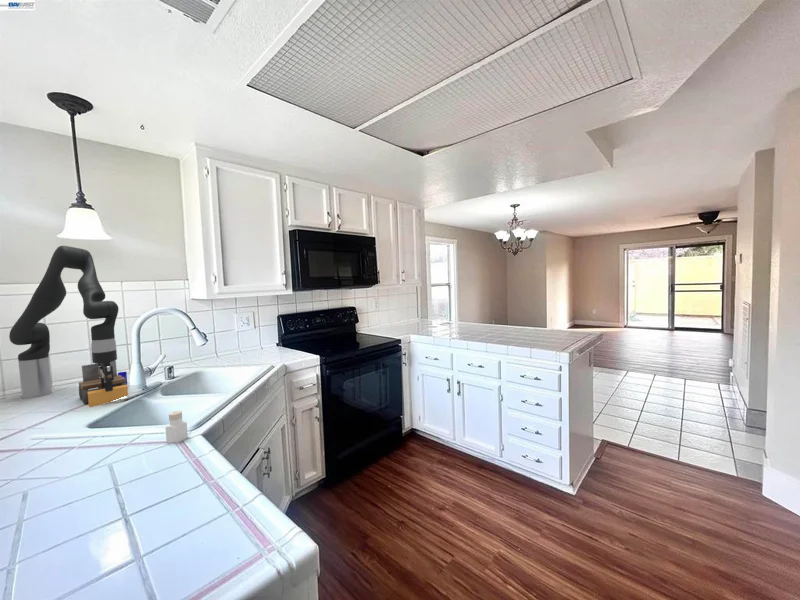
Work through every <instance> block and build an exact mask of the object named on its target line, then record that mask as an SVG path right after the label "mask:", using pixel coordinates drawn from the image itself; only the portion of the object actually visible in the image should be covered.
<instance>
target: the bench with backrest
mask: <svg viewBox="0 0 800 600" xmlns="http://www.w3.org/2000/svg"><path fill="white" fill-rule="evenodd" d="M110 365H111V366H113V377H114V380H113V381H112V384H115V385H113V387H116V386H121V385H127V386H128V383H127V384H126V379H125V378H124V377H122V376H121V375H118V371H117V360H115V361H111V362H110ZM98 367H99V365H98V363H91V364H86V365H81V372H82V381H79V382H78V396H79V400H80V401H81V400H82V403H83V405H89V402H88V392H89V391H95V390H100V389H105V388H102V387H101V379H100V377H99V370H98ZM108 378H110V377H108Z"/></svg>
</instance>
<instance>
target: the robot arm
mask: <svg viewBox="0 0 800 600" xmlns="http://www.w3.org/2000/svg"><path fill="white" fill-rule="evenodd" d="M49 261H50V262H49V264H48V267H47V269H46V272H45V273H44V274H43V277H42V279H41V281H40V283H39V284H38V286H37V288H36V290H34V293H33V294H32V296H31V298H30V301H29V302H28V304H27V306H26V307H25V309H24V311H23V313H22V314H21V315H20V316H19V318H18V319H17V320H16V321H15V323H14V324H13V325H12V327H11V329H10V331H9V336H8V337H9V341H10V343H12V344H13V345H16V346H25V345H30V346H29V348H27V349H26V350H24V351H22V352H20V353H19V354H18V356H17V361H18V370H19V379H20V380H19V381H20V392H21V399H22V400H28V399H36V398H41V397H44V396H48V395H51V394H53V388H52V375H51V368H50V366H51V365H50V357H49V353H50V349H51V345H50V340H51V339H50V336H51V335H50V328H49V327H48V325H47V324H46V323H44V322H40V321H41V320H42V319H44V318H45V317H47V316H49V315H51V314H52V313H53V312H54V311H56V310H57V309H58V308H59V307H61V305H62V303H63V301H64V300H65V298H66V295H67V290H66V289H67V288H66V287H65V284H64V282H63V280H62V273H63V272H62V271H63V270H64V269H73V270H80V272H82V275H81V277H80V278H79V280H78V282H77V290H78V292H79V294H80V296H81V298H82V302H83V306H82V307H83V309H82V313H83V315H84V317H86V318H87V319H88V320H100V319H104V321H103V322H101V323H99V324H95V325H92V326H91V327H90V335H91V336H90V337H91V344H90V345H91V347H90V348H91V349H90V350H91V361H92V364H96V363H98V365H99V367H98V370H99V377H100V379H101V387H102V388H105V391H106V392H108V391H112V390H113V384H112V381H113V380H114V377H113V366H111V365H110V362H111V361H117V360H118V353H117V352H118V351H117V342H116V339H115V337H116V336H115V325H116V321H117V318H118V315H119V305H118V304H117V303H116V302H115V301H114V300H113V301H112V300H105V299H106V293H105V291H104V289H103V287H102V285H101V283H100V282H99V279H98V275H97V272H96V266H95V264H94V263H95V262H94V259H93V256H92V254H91V252H90V251H89V250H87V249H83V248H80V247H79V248H78V247H74V246H69V245H60V246H58V247H57V248H56V249H55V250H54V252H53V254H52V255H51V258H50V260H49ZM108 377H110V378H108Z"/></svg>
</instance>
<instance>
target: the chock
mask: <svg viewBox="0 0 800 600" xmlns="http://www.w3.org/2000/svg"><path fill="white" fill-rule="evenodd" d="M127 395H128V396H129V390H128V384H127V385H121V386H116V387H113V390H112V391H108V392H106V391H105V389H100V390H95V391H89V392H88V402H89V404H88V408H91V407H97V406H101V405H104V404H103V403H106V404H108V403H107V402H111V401H113V400H116V399H119V398H121V397H124V396H127ZM111 403H112V402H111ZM100 404H101V405H100Z"/></svg>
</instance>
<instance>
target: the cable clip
mask: <svg viewBox="0 0 800 600" xmlns="http://www.w3.org/2000/svg"><path fill="white" fill-rule="evenodd" d="M117 375H121V376H122V377H124V378H125V379H126V384H127V385H128V376H127V371H119V372H117ZM113 385H115V384H113Z"/></svg>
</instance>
